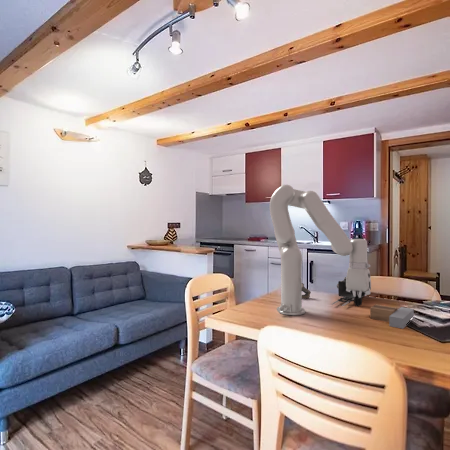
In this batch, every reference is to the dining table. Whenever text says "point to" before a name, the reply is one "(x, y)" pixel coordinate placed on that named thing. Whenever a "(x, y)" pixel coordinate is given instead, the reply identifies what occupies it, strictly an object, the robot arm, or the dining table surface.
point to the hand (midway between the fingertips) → (358, 305)
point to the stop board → (401, 317)
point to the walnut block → (381, 312)
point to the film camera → (344, 293)
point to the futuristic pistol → (307, 292)
